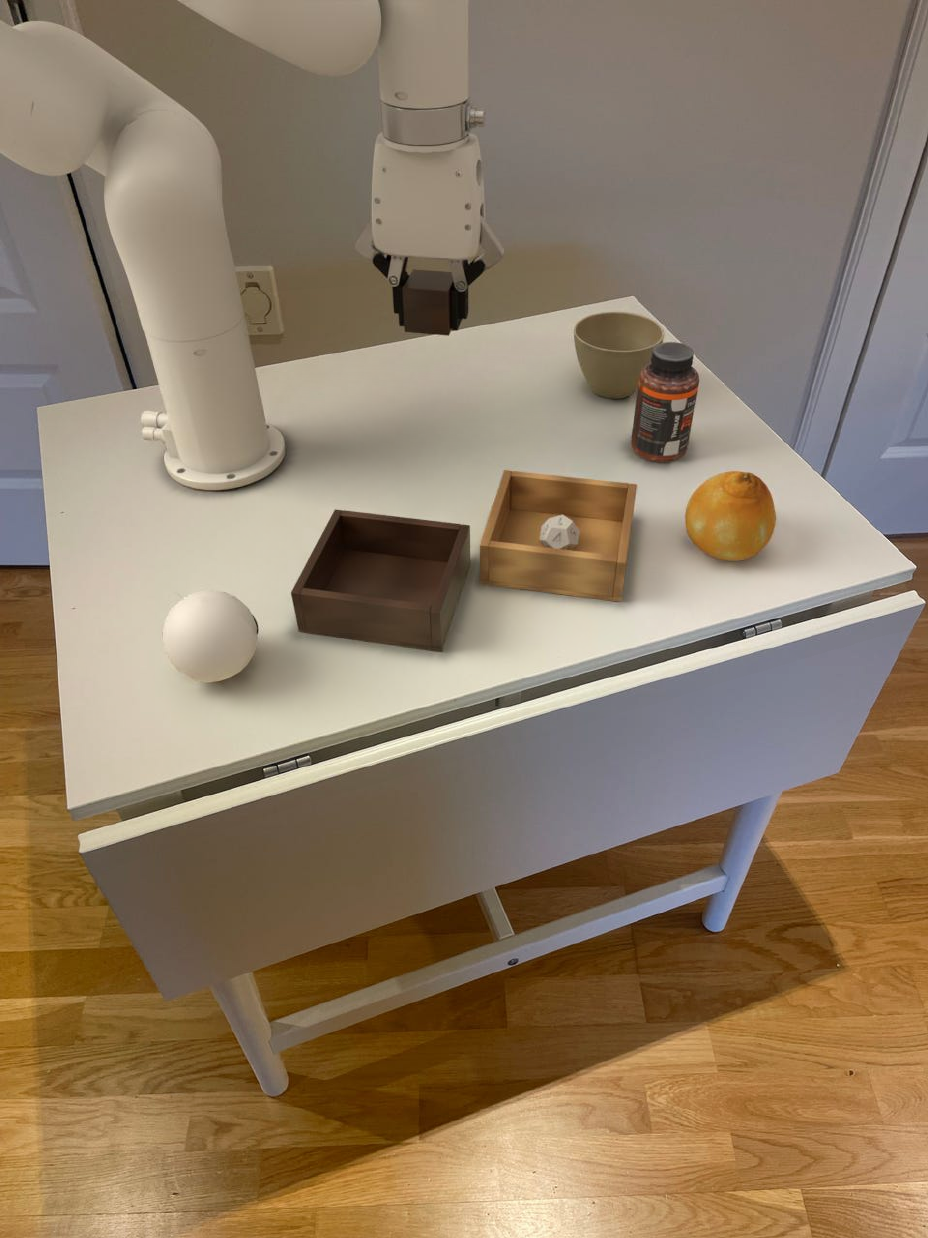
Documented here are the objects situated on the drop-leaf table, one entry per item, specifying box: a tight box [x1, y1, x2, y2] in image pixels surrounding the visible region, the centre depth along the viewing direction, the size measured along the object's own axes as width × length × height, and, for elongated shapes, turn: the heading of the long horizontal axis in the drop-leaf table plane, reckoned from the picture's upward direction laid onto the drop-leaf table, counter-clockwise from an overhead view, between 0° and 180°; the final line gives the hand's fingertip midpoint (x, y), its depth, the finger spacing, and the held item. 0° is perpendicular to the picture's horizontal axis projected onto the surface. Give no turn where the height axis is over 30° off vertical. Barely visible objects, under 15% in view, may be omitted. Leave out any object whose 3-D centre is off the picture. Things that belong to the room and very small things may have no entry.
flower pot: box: [573, 311, 665, 400], centre depth 104 cm, size 10×10×7 cm
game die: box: [539, 515, 580, 550], centre depth 83 cm, size 4×4×3 cm
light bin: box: [479, 469, 638, 603], centre depth 83 cm, size 13×12×4 cm
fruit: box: [684, 470, 777, 562], centre depth 83 cm, size 8×8×8 cm
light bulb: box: [162, 589, 259, 683], centre depth 73 cm, size 10×7×7 cm
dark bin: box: [290, 509, 472, 653], centre depth 79 cm, size 13×12×4 cm
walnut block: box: [402, 268, 454, 336], centre depth 90 cm, size 4×4×4 cm
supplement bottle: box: [630, 341, 700, 463], centre depth 93 cm, size 6×6×11 cm
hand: (431, 320), depth 91 cm, fingers closed on walnut block, 4 cm apart
